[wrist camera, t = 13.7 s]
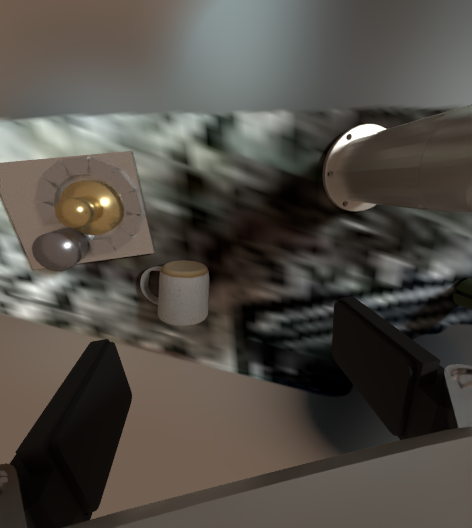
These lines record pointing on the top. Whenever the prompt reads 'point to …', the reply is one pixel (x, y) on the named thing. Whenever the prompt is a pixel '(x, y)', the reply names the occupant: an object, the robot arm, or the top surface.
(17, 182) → the carrier
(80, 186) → the brass door knob
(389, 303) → the top surface
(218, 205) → the top surface
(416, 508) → the robot arm
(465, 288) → the character mug
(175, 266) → the ceramic mug
